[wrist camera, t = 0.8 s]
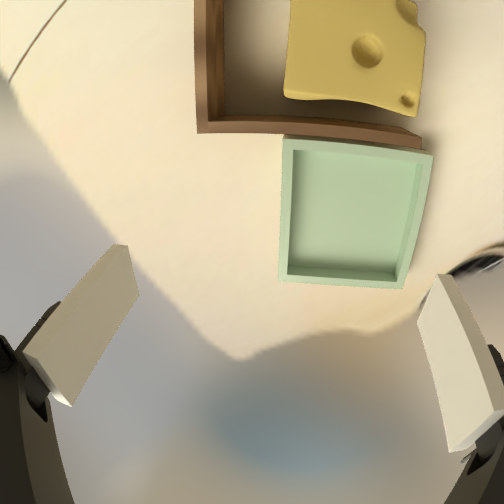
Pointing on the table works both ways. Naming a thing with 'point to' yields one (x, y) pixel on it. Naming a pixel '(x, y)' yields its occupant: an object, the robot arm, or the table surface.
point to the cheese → (356, 53)
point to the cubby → (216, 121)
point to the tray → (350, 211)
